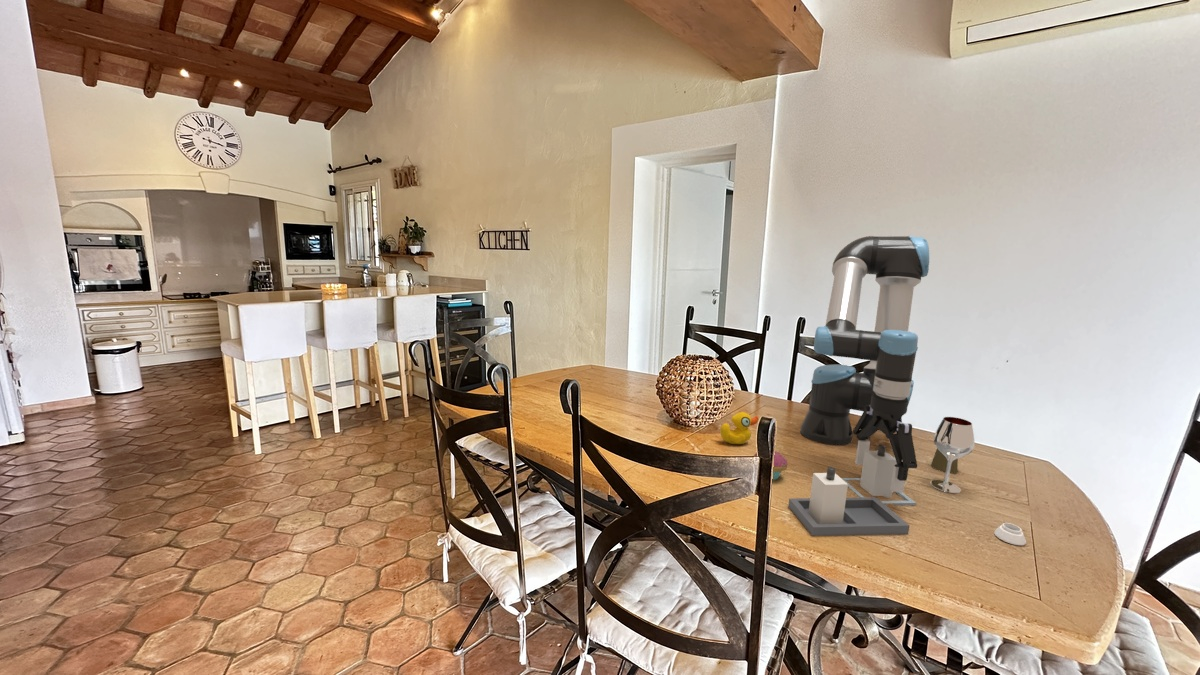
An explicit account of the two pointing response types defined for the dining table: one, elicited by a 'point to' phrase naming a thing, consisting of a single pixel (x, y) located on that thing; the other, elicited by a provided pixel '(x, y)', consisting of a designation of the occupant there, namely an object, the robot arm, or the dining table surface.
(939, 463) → the cork
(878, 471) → the white block with peg
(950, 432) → the wineglass
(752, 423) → the duckling
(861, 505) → the two-slot grey rack
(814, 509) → the white plug
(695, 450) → the dining table surface
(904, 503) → the square frame
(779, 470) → the cupcake
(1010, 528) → the white short tapered ring
